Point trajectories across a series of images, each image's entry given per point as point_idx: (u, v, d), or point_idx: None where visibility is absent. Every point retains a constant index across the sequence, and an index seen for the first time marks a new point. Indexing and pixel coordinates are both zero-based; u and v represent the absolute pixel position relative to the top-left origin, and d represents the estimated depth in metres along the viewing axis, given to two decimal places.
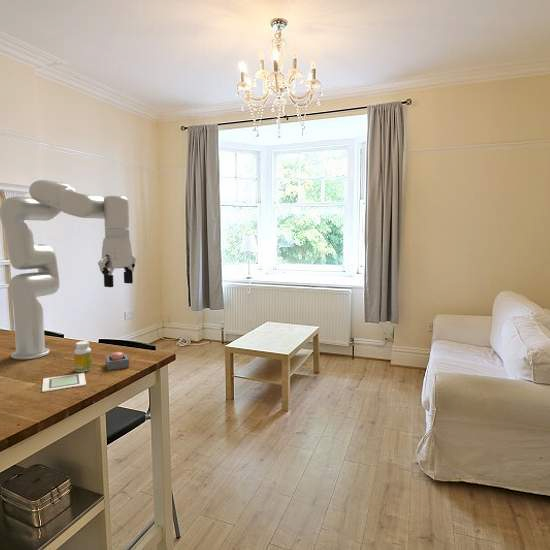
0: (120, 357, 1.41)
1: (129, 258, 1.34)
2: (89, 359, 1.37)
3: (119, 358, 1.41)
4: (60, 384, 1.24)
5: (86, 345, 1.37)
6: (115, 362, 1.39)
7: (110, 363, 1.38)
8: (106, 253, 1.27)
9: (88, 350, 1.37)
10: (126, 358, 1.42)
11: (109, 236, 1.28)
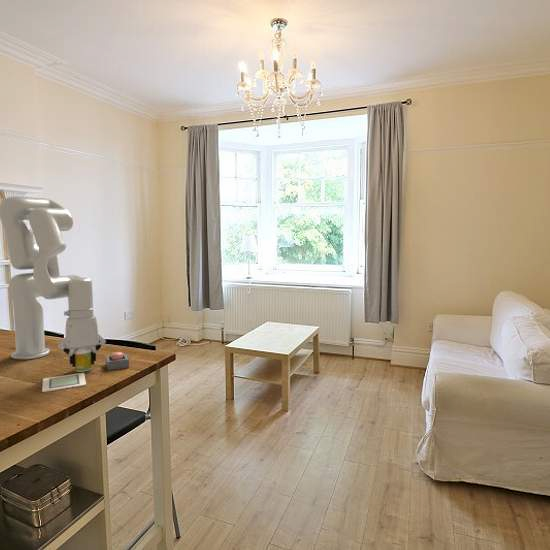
0: (120, 357, 1.41)
1: None
2: (89, 359, 1.37)
3: (119, 358, 1.41)
4: (60, 384, 1.24)
5: None
6: (115, 362, 1.39)
7: (110, 363, 1.38)
8: None
9: (88, 350, 1.37)
10: (126, 358, 1.42)
11: None
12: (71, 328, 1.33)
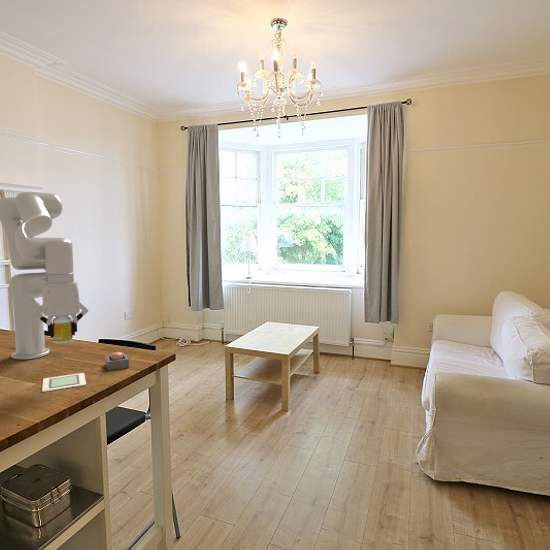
0: (120, 357, 1.41)
1: None
2: (69, 329, 1.25)
3: (119, 358, 1.41)
4: (60, 384, 1.24)
5: None
6: (115, 362, 1.39)
7: (110, 363, 1.38)
8: None
9: (68, 319, 1.24)
10: (126, 358, 1.42)
11: (73, 280, 1.25)
12: (48, 294, 1.20)
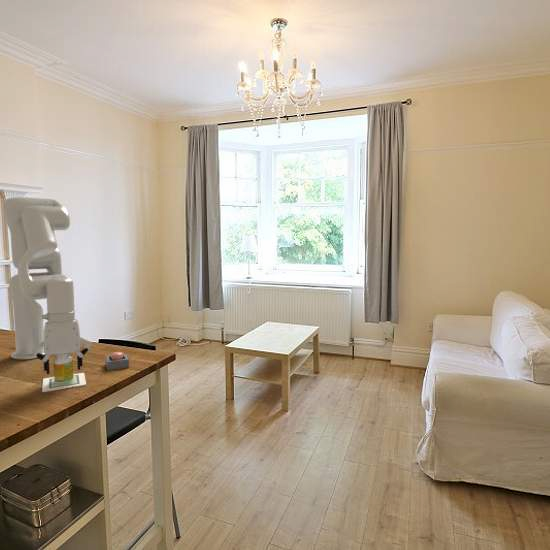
0: (120, 357, 1.41)
1: None
2: (70, 369, 1.26)
3: (119, 358, 1.41)
4: (60, 384, 1.24)
5: (67, 354, 1.25)
6: (115, 362, 1.39)
7: (110, 363, 1.38)
8: None
9: (68, 360, 1.25)
10: (126, 358, 1.42)
11: (74, 318, 1.26)
12: (49, 333, 1.21)
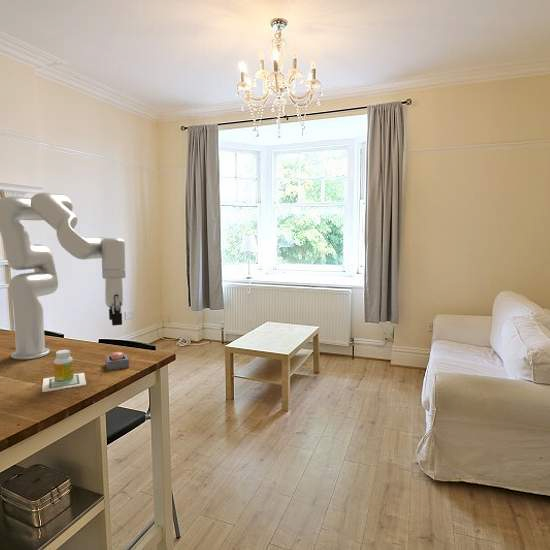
0: (120, 357, 1.41)
1: None
2: (70, 369, 1.26)
3: (119, 358, 1.41)
4: (60, 384, 1.24)
5: (67, 354, 1.25)
6: (115, 362, 1.39)
7: (110, 363, 1.38)
8: (115, 293, 1.35)
9: (69, 360, 1.25)
10: (126, 358, 1.42)
11: (115, 277, 1.35)
12: None
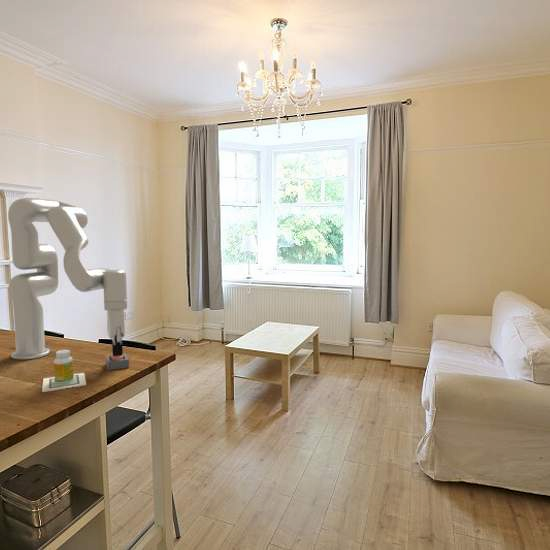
0: (120, 358, 1.41)
1: None
2: (70, 369, 1.26)
3: (119, 359, 1.41)
4: (60, 384, 1.24)
5: (67, 354, 1.25)
6: (115, 362, 1.39)
7: (110, 363, 1.38)
8: (117, 325, 1.36)
9: (69, 360, 1.25)
10: (126, 358, 1.42)
11: (117, 308, 1.37)
12: None
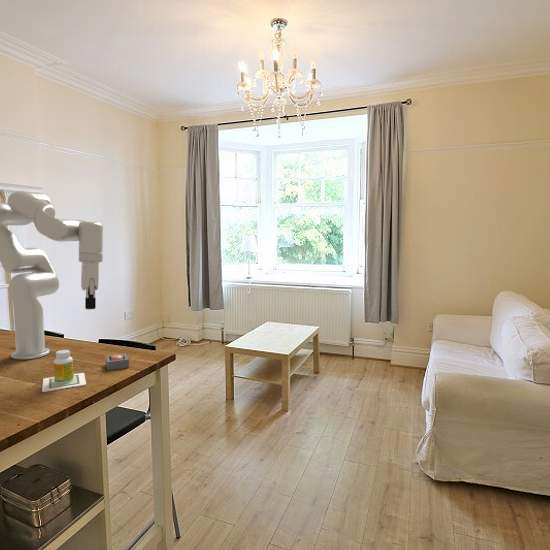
0: None
1: None
2: (70, 369, 1.26)
3: None
4: (60, 384, 1.24)
5: (67, 354, 1.25)
6: (115, 362, 1.39)
7: (110, 363, 1.38)
8: (91, 277, 1.35)
9: (69, 360, 1.25)
10: (126, 358, 1.42)
11: (91, 260, 1.35)
12: None
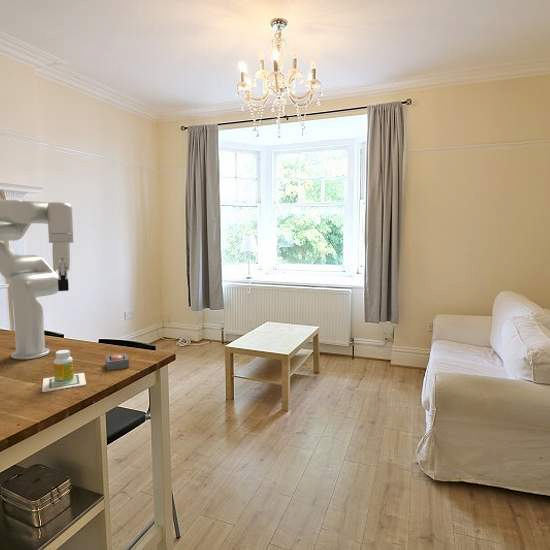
0: None
1: None
2: (70, 369, 1.26)
3: None
4: (60, 384, 1.24)
5: (67, 354, 1.25)
6: (115, 362, 1.39)
7: (110, 363, 1.38)
8: (61, 257, 1.34)
9: (68, 360, 1.25)
10: (126, 358, 1.42)
11: (61, 241, 1.34)
12: None
